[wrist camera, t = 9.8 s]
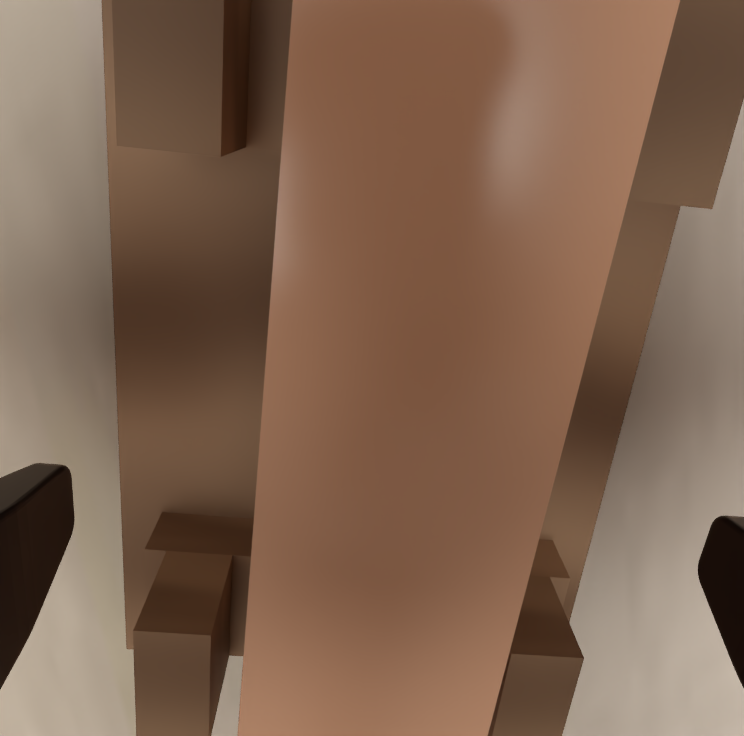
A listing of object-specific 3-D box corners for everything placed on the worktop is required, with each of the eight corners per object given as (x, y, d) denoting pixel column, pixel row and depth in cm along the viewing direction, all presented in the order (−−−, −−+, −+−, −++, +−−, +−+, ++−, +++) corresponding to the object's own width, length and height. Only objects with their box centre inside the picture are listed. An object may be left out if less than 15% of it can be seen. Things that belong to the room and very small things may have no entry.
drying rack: (545, 647, 20) (604, 813, 15) (138, 622, 19) (67, 788, 14) (723, -46, 13) (921, -129, 9) (115, -126, 13) (-25, -263, 8)
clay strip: (419, 683, 17) (444, 902, 12) (261, 671, 17) (225, 890, 12) (564, -33, 11) (714, -133, 7) (327, -71, 11) (307, -203, 6)
